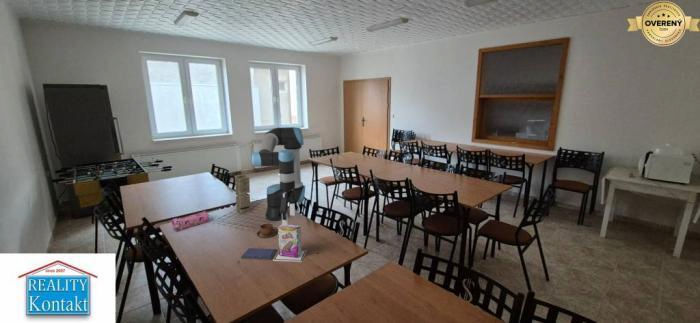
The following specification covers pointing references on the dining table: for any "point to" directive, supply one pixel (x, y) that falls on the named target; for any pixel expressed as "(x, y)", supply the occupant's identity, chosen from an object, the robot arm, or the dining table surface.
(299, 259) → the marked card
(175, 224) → the pencil case
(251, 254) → the ink pad
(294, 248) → the candy bar box
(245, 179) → the block tower
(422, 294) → the dining table surface
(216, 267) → the dining table surface
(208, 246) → the dining table surface
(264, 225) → the cup and saucer
